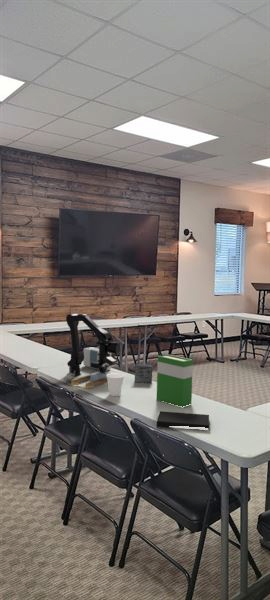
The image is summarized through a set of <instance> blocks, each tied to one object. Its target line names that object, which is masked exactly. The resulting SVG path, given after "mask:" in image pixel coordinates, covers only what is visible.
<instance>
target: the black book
mask: <svg viewBox="0 0 270 600" xmlns="http://www.w3.org/2000/svg"><path fill="white" fill-rule="evenodd" d="M169 426H189V427H205V428H209V429H210V415H209V414H202V413H191V412H190V413H189V412H188V413H187V412H179V411H177V412H175V411H163V410H160V411H159V413H158V417H157V419H156V428H167V429H169V428H168V427H169Z"/></svg>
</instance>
